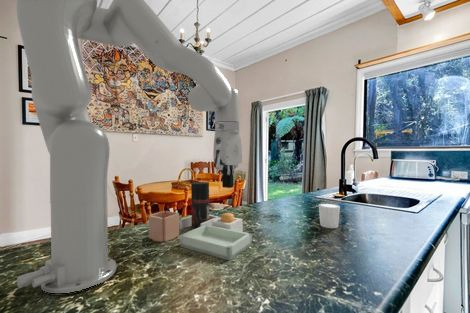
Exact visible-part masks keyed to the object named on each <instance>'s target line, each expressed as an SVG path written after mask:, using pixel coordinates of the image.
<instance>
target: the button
mask: <svg viewBox="0 0 470 313" xmlns="http://www.w3.org/2000/svg"><path fill="white" fill-rule="evenodd" d="M220 218H221V222H227V223H231V222H233V221H234V218H235V216H234V213H231V212H224V213H221V214H220Z"/></svg>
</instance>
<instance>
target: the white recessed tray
mask: <svg viewBox="0 0 470 313" xmlns="http://www.w3.org/2000/svg"><path fill="white" fill-rule="evenodd" d="M243 221H244V220H243V218H239V217H234V221H233V222H231V223H227V222H221V216H218V215H211V214H209V220H208V221H206V222H203V223H201V224H200V227H201V226H203V225H211V226H216V227H221V228H226V229H231V230H236V231H241V232H244V231H243V230H244V228H243V227H244V225H243V224H244V223H243ZM190 226H191V227H192V215H189V216H187V217H184V218H181V219H180V218H179V230H182V229H184V228H187V227H190Z"/></svg>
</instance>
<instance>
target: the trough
mask: <svg viewBox="0 0 470 313" xmlns="http://www.w3.org/2000/svg"><path fill="white" fill-rule="evenodd" d="M252 245H253V234H252V233H249V232H245V231H243V232H241V231H236V230H231V229H226V228H221V227H216V226H211V225H203V226H201V227H199V228H196V229H192V230H189V231H187V232H184V233H182V234H179V247H181V248H183V249H184V248H185V249H188V250H192V251H195V252H198V253H201V254H206V255H210V256H212V257H215V258H219V259H222V260H227V261H232V260H233V259H235V258H236V257H237V256H239V255H240V254H241V253H243V252H244V251H246V250H247V249H248V248H249V247H251V246H252Z"/></svg>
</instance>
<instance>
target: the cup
mask: <svg viewBox="0 0 470 313" xmlns="http://www.w3.org/2000/svg"><path fill="white" fill-rule="evenodd" d="M177 237H180V213H179V212H176V211H175V212H174V211H170V210H166V211H165V210H163V211H159V212H155V213H150V214H149V215H148V239H151V241H153V242H158V243H159V242H160V243H161V242H162V243H163V242H164V243H165V242H169V241H172V240H174V239H176V238H177Z"/></svg>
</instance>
